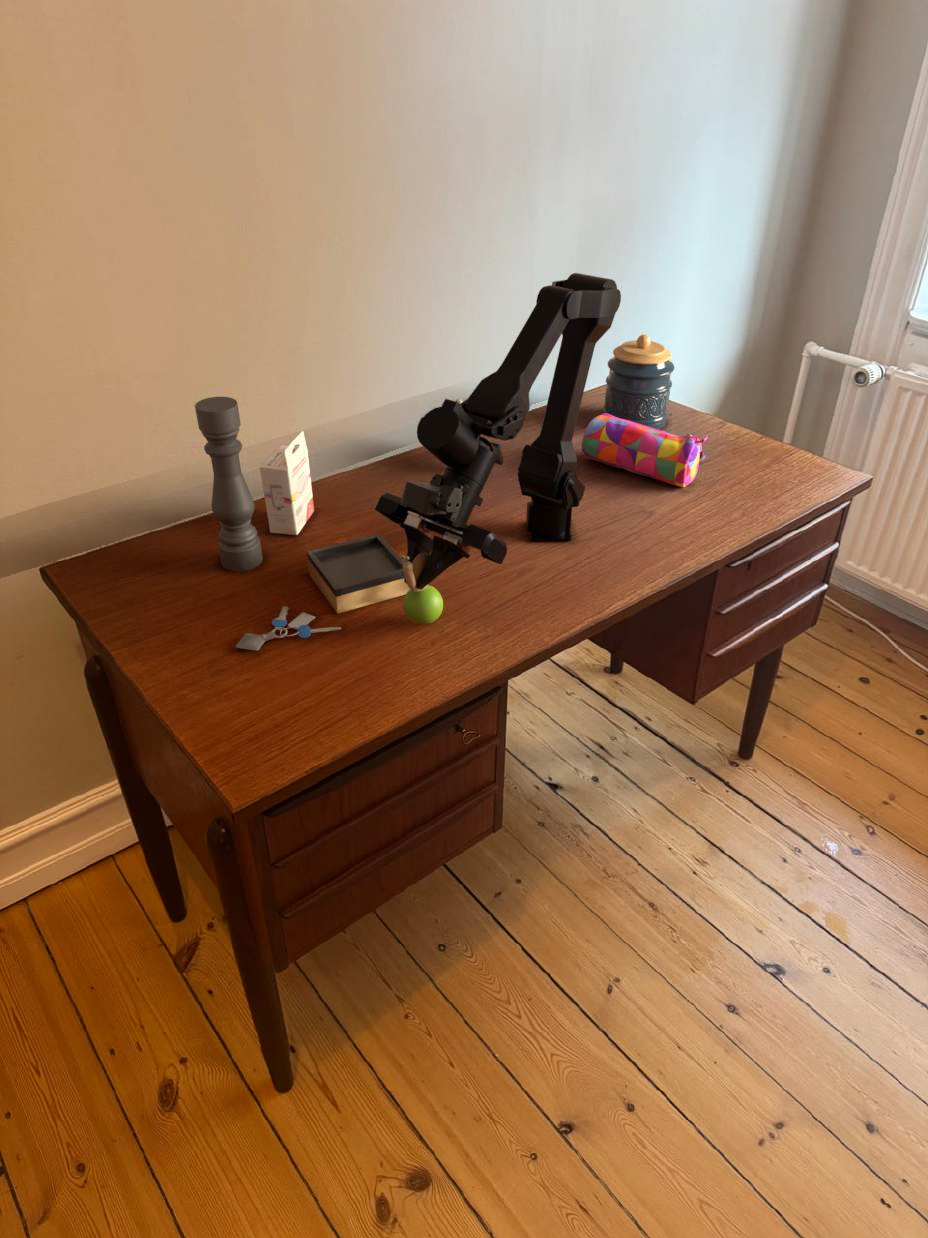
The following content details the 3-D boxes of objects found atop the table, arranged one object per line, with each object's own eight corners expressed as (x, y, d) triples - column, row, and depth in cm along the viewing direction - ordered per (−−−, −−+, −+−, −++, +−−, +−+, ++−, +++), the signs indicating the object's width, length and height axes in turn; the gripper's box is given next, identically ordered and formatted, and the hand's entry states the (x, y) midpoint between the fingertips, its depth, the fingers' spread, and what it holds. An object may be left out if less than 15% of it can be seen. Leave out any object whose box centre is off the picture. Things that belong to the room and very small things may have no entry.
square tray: (380, 556, 135) (379, 533, 133) (412, 592, 127) (411, 569, 125) (309, 574, 131) (306, 551, 128) (337, 613, 122) (335, 590, 120)
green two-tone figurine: (393, 630, 119) (385, 552, 112) (417, 607, 123) (411, 531, 117) (427, 639, 117) (422, 561, 110) (451, 616, 121) (447, 539, 115)
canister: (600, 432, 174) (609, 343, 164) (603, 407, 185) (611, 323, 175) (667, 436, 173) (679, 347, 163) (665, 411, 183) (677, 326, 173)
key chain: (239, 657, 114) (238, 652, 114) (226, 623, 120) (225, 618, 120) (342, 632, 119) (341, 627, 118) (325, 601, 125) (324, 596, 124)
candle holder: (242, 575, 131) (216, 416, 116) (212, 564, 133) (183, 406, 119) (271, 557, 135) (248, 401, 120) (241, 546, 137) (216, 392, 123)
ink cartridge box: (287, 508, 148) (276, 426, 139) (315, 511, 147) (306, 428, 138) (268, 533, 141) (255, 448, 132) (297, 536, 140) (286, 451, 132)
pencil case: (707, 475, 158) (715, 428, 153) (688, 495, 152) (696, 447, 147) (597, 448, 168) (601, 403, 163) (575, 466, 161) (579, 420, 156)
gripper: (379, 436, 114) (327, 544, 113) (495, 475, 104) (439, 593, 104) (419, 470, 123) (372, 570, 123) (530, 508, 114) (479, 616, 113)
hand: (412, 586), depth 115 cm, fingers closed on green two-tone figurine
